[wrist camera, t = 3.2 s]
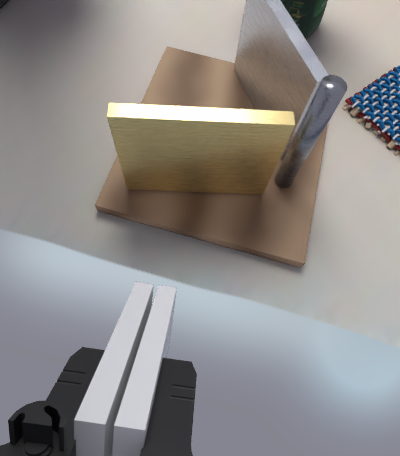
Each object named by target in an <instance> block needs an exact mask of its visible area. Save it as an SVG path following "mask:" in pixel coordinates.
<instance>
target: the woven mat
mask: <svg viewBox="0 0 400 456" xmlns="http://www.w3.org/2000/svg"><path fill="white" fill-rule="evenodd" d="M399 69H400V66H398V67H397V68H396V67H394V68H393V71H394V72H393V71H392V70H390V71H389V72H388V73H387V74H384V75H382V76H381V77H380V79H376V80H375V81H374V82H373V83H372V84H369V85H368V86H367V87H368V88H367V87H365V88H364V89H363V90H362V91H361V92H358V93H355V95H354V96H353V97H350V98H349V99H346V101H345V102H346V103H347V105H345V106H344V107H343V108H342V109H344V110H345V111H346V110H348V109H349V108H351V110H352V111H351V112H350V113H351V114H352V115H353V116H354V117H355V116H359V117H360V118H359V119H358V120H357V122H358V123H359V124H360V123H362V122H364V121H365V120H366V121H367V122H368V123H366V125H365V128H367V129H369V128H371V127H372V126H373V127H374V128H375V130H373V131H372V132H373V133H374V134H375V135H378V134H382V135H383V137H382V138H381V140H382V141H383V142H384V141H386V140H387V142H388V144H387V146H388V147H389V148H390V149H392V148H395V149H398V150H397V151H396V152H394V154H395V155H396V156H397V155H398V154H400V70H399ZM381 80H382V81H381ZM383 88H384V89H383ZM355 98H356V99H355ZM361 112H362V113H361ZM379 112H381V113H379ZM389 128H391V129H389ZM396 133H398V134H396ZM391 137H392V139H393V140H391ZM398 144H399V145H398Z"/></svg>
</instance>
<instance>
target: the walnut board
mask: <svg viewBox="0 0 400 456" xmlns="http://www.w3.org/2000/svg"><path fill="white" fill-rule="evenodd" d="M234 66H235V63H231V62H227V61H223V60H219V59H215V58H211V57H207V56H203V55H199V54H195V53H191V52H187V51H183V50H179V49H175V48H171V47H166V49H165V52H164V54H163V56H162V58H161V60H160V63H159V65H158V67H157V69H156V71H155V74H154V76H153V78H152V80H151V82H150V85H149V87H148V89H147V91H146V94H145V96H144V98H143V100H142V102H141V104H145V105H166V106H187V107H208V108H229V109H250V110H254V108H253V106H252V104H251V102H250V100H249V99H248V97H247V95H246V93H245V91H244V89H243V87H242V85H241V83H240V81H239V79H238V77H237V75H236V73H235V71H234ZM326 128H327V125H326V126H325V128H324V130H323V132H322V133H321V135H320V137H319V138H318V140H317V142H316V144H315V145H314V147H313V149H312V150H311V152H310V154H309V155H308V157H307V159H306V161H305V162H304V164H303V166H302V167H301V169H300V171H299V173H298V174H297V176H296V178H295V179H294V181H293V183H292V185H291V186H290V187H288V188H281V187H279V186H278V185H277V184H276V183H275V180H274V179H275V176H276V174H277V172H278V169H279V167H280V165H281V163H282V161H283V160H280V159H279V161H278V163H277V165H276V168H275V170H274V172H273V174H272V176H271V178H270V181H269V183H268V185H267V187H266V189H265V191H264V194H242V193H214V192H186V191H158V190H130V189H127V187H126V184H125V180H124V176H123V173H122V169H121V166H120V162H119V158H118V155H117V158H116V160H115V162H114V164H113V166H112V169H111V171H110V173H109V175H108V177H107V180H106V182H105V184H104V186H103V188H102V191H101V193H100V195H99V197H98V199H97V202H96V204H95V206H96V208H97V210H98V211H100V212H104V213H107V214H111V215H115V216H118V217H122V218H125V219H129V220H132V221H136V222H140V223H143V224H147V225H150V226H154V227H157V228H161V229H165V230H168V231H172V232H175V233H179V234H182V235H186V236H190V237H193V238H197V239H200V240H204V241H207V242H211V243H215V244H218V245H222V246H225V247H229V248H232V249H236V250H240V251H243V252H247V253H250V254H254V255H257V256H261V257H265V258H268V259H272V260H275V261H279V262H282V263H286V264H290V265H293V266H297V267H301V266H303V265H304V264H305V258H306V252H307V246H308V239H309V233H310V227H311V221H312V215H313V208H314V202H315V196H316V190H317V184H318V178H319V171H320V165H321V159H322V153H323V147H324V140H325V134H326Z"/></svg>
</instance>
